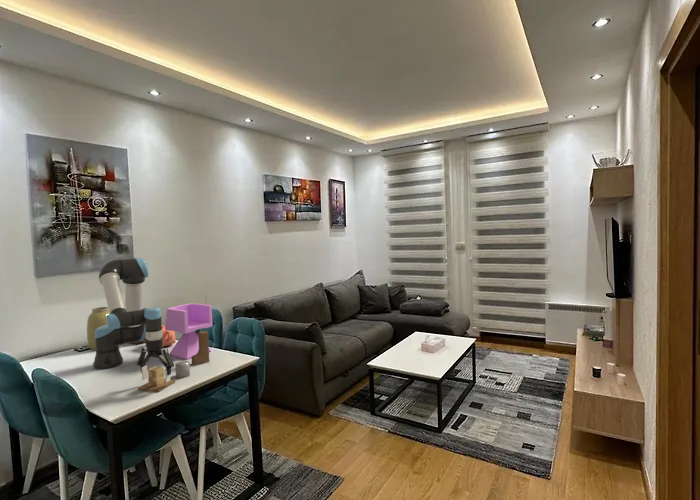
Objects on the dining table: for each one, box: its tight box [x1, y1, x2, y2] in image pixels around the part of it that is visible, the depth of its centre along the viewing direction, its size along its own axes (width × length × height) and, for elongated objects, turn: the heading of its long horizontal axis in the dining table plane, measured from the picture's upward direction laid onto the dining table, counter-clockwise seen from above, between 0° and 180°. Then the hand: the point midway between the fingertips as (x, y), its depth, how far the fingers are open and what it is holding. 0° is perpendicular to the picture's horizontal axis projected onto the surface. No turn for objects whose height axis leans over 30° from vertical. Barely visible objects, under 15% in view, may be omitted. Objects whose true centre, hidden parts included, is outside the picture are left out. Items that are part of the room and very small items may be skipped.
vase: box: [86, 306, 110, 351], centre depth 267 cm, size 17×17×27 cm
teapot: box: [162, 324, 177, 349], centre depth 268 cm, size 22×13×14 cm, turn 56°
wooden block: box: [191, 330, 210, 366], centre depth 232 cm, size 9×4×18 cm, turn 130°
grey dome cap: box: [174, 360, 191, 379], centre depth 212 cm, size 7×7×7 cm
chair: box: [164, 302, 214, 361], centre depth 249 cm, size 20×20×30 cm
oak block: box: [147, 366, 165, 386], centre depth 198 cm, size 5×5×8 cm
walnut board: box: [137, 378, 176, 393], centre depth 199 cm, size 12×12×1 cm
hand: (156, 380), depth 199 cm, fingers open, 13 cm apart
